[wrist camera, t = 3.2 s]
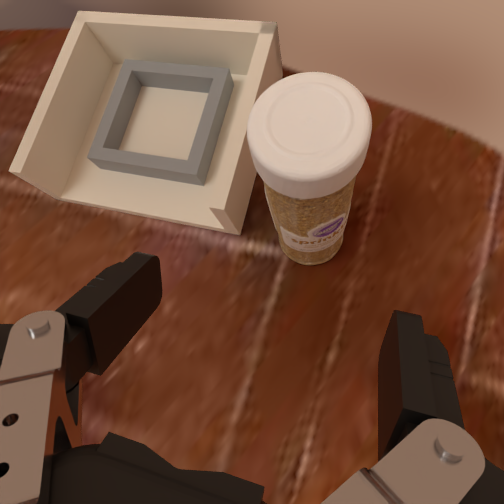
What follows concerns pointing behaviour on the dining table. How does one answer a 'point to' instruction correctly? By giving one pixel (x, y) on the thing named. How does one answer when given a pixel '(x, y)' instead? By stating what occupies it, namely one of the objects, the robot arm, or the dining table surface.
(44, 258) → the dining table surface
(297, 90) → the sprinkles bottle
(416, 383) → the robot arm
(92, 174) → the caddy
